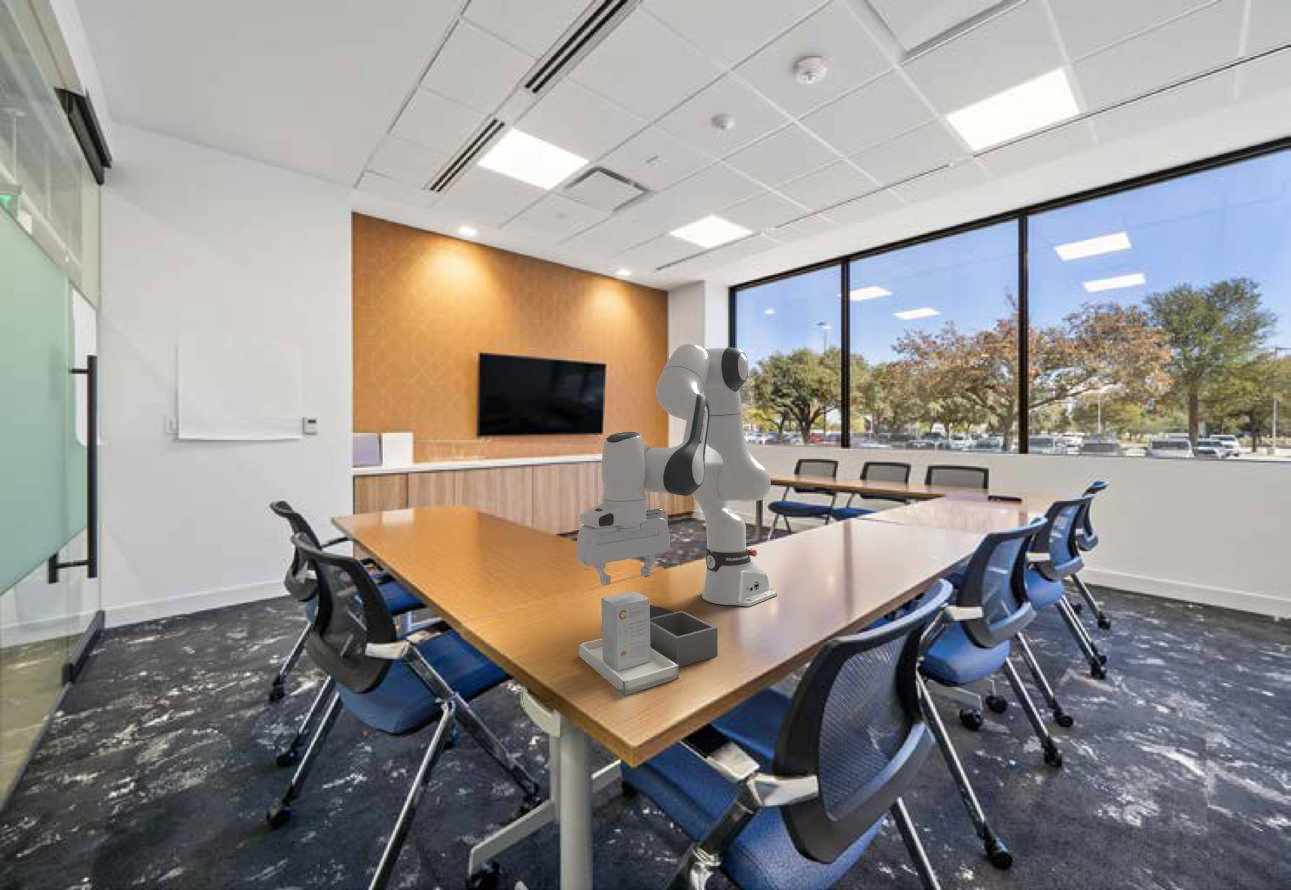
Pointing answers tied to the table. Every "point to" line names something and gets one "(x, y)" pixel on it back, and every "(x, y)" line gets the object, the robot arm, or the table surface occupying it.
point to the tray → (630, 669)
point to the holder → (683, 638)
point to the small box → (625, 630)
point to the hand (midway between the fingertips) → (626, 580)
